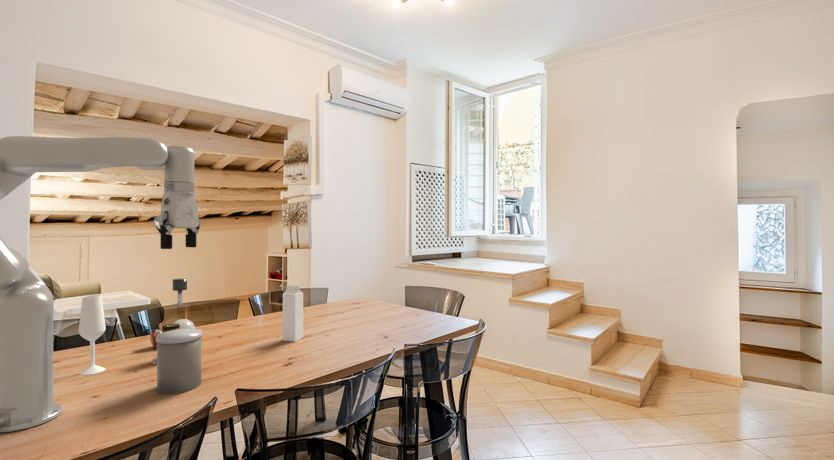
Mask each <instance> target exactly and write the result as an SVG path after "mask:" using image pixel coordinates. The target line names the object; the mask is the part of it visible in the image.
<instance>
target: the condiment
mask: <svg viewBox="0 0 834 460" xmlns="http://www.w3.org/2000/svg"><path fill="white" fill-rule="evenodd" d="M178 329H180V325H179V324H173V323H167V324H164V325H162V328H161V331H162V333H163V332H167V331H172V330H178ZM153 365H157V356H156V357H153Z"/></svg>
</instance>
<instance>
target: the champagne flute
mask: <svg viewBox="0 0 834 460" xmlns="http://www.w3.org/2000/svg"><path fill="white" fill-rule="evenodd" d="M79 318H80V319H79V324H78V325H79V326H78V335H80V336H81V338H83V339H84V340H86V341H89V366H87V367H86V368H84V369H82V370H81V371H79V372H78V375H80V376H89V375H90V376H91V375H95V374H99V373H102V372H104V371H105V370H106V368H105V367H102V366H101V365H96V364H95V363H96V360H95V359H96V356H95V355H96V354H95V353H96V351H95V350H96V349H95V347H96V345H95V344H96V343H95V342H96V340H98V339H99V338H100V337H101V336H102V335H104V333H105V332H106V320H105V311H104V303H103V295H102V294H89V295H88V294H87V295H84V296H83V295H82V299H81V308H80V317H79Z"/></svg>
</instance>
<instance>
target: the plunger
mask: <svg viewBox="0 0 834 460" xmlns="http://www.w3.org/2000/svg"><path fill="white" fill-rule="evenodd" d="M187 290H188V278H173V279H172V291H173V292H174V291H176V292H177V294H176V295H177V300H176V301H177V306H183V291H187Z"/></svg>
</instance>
